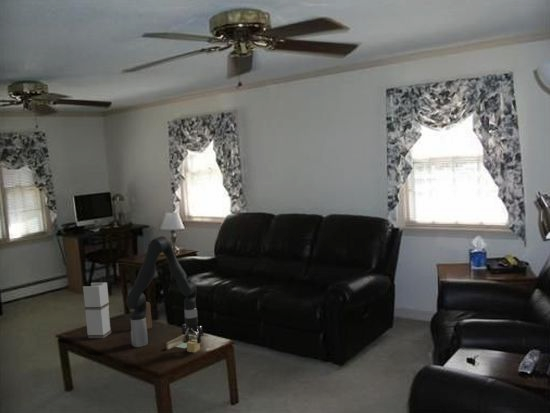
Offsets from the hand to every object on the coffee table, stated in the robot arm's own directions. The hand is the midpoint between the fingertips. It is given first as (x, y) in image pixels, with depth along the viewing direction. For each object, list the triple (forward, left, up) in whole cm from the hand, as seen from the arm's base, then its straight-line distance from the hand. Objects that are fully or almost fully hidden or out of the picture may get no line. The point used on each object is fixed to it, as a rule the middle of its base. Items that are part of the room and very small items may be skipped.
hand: (193, 342), depth 294 cm
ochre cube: (0, 0, -5) cm, 5 cm away
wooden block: (-59, +19, -5) cm, 63 cm away
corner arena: (-10, +4, -5) cm, 12 cm away
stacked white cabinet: (-80, -2, -5) cm, 81 cm away
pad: (-11, +4, -5) cm, 13 cm away
